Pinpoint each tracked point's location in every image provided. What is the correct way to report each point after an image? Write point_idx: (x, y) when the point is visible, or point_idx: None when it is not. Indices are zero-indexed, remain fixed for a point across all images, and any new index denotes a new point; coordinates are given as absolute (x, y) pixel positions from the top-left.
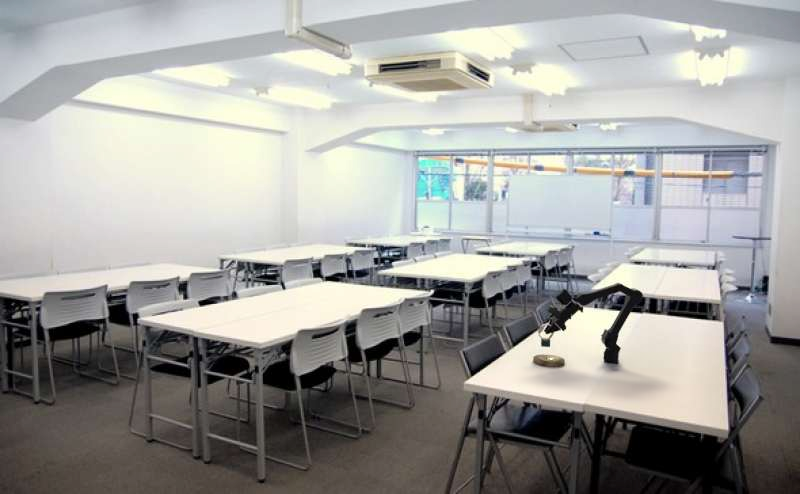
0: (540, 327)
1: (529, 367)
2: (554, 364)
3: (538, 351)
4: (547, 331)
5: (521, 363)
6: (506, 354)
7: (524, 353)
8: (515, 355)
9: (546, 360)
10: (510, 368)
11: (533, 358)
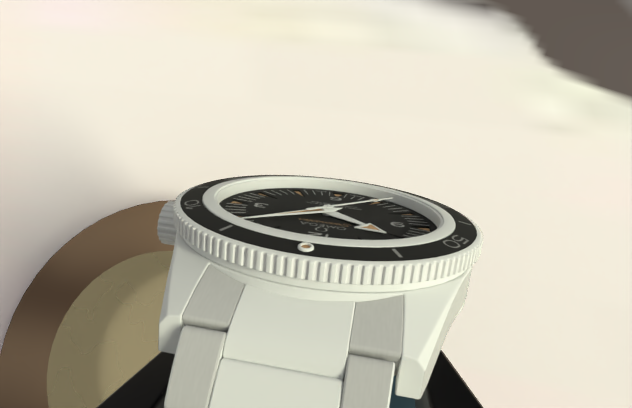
0: (399, 226)
1: (34, 153)
2: (6, 388)
3: (614, 335)
4: (131, 393)
5: (144, 103)
6: (409, 9)
7: (483, 168)
8: (391, 79)
9: (77, 316)
10: (16, 13)
11: None
